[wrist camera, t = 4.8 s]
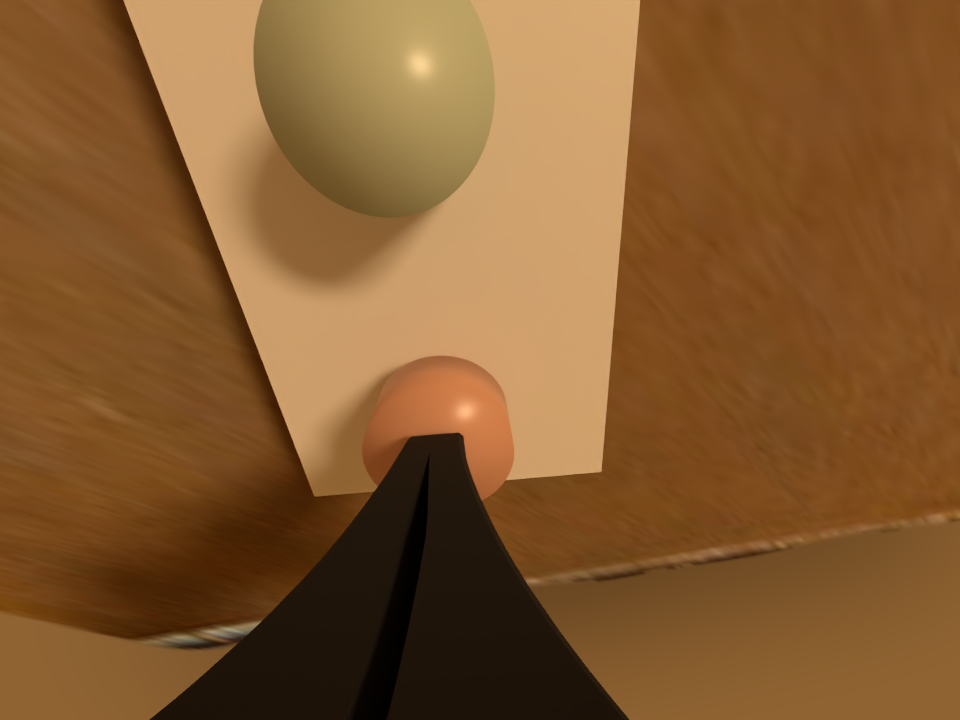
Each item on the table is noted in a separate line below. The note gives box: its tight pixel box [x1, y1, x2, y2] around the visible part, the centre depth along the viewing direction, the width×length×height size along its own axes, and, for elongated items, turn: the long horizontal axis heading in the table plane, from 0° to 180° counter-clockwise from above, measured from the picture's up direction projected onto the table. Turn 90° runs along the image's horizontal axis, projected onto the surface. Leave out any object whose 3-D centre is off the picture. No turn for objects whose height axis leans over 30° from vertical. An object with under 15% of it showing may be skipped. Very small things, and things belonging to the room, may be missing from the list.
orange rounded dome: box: [362, 356, 514, 500], centre depth 11 cm, size 4×4×2 cm
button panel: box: [123, 0, 640, 497], centre depth 10 cm, size 11×24×2 cm, turn 5°
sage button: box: [253, 0, 495, 218], centre depth 7 cm, size 4×4×2 cm
